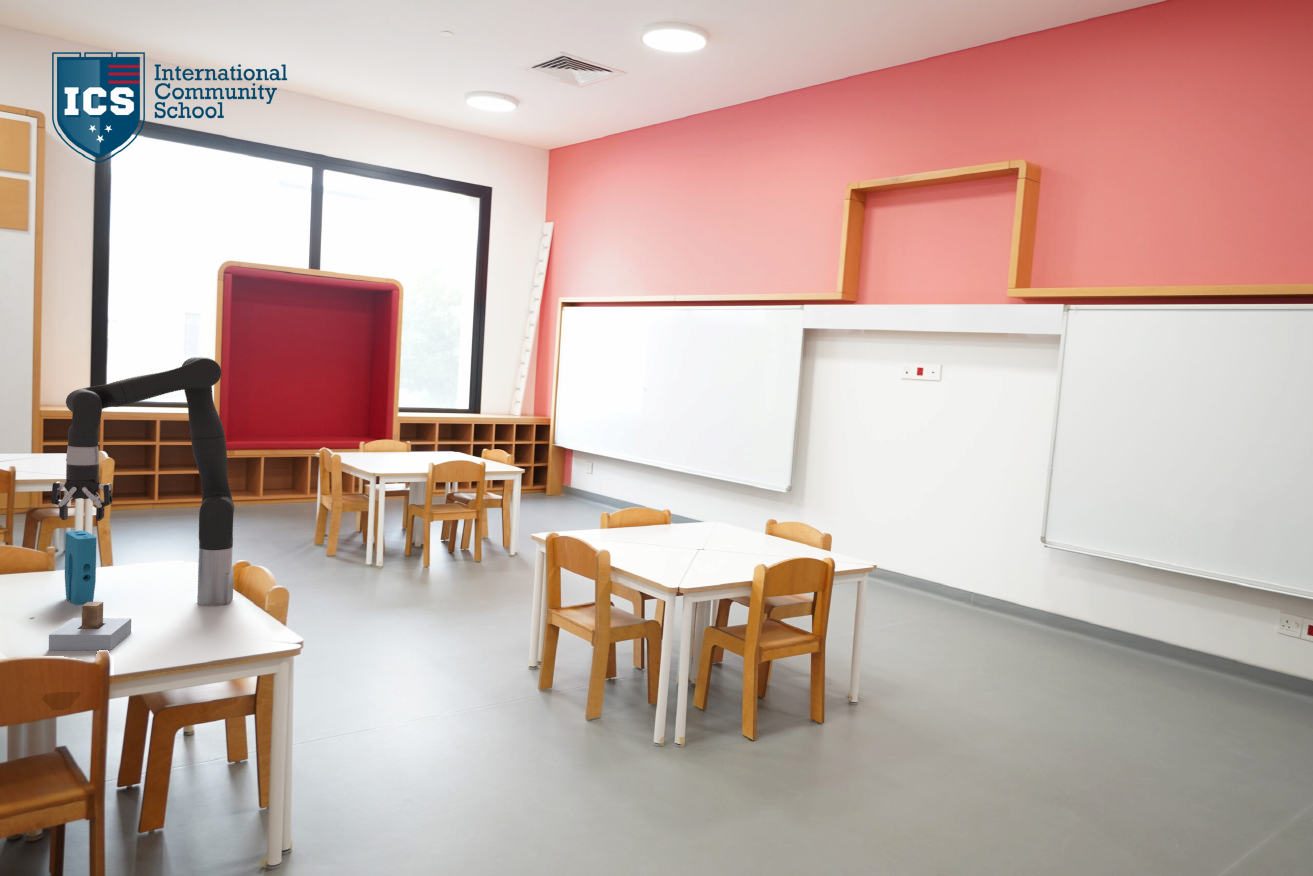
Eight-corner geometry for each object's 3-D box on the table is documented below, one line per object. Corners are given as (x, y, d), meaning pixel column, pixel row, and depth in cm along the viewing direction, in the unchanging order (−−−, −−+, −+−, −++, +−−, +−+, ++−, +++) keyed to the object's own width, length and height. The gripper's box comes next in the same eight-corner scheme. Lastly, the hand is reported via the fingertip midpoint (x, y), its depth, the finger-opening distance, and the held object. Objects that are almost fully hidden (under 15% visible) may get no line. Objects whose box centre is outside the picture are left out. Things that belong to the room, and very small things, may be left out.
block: (96, 604, 256) (97, 537, 255) (76, 606, 253) (77, 539, 251) (82, 594, 264) (83, 530, 262) (63, 597, 260) (64, 531, 259)
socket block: (131, 632, 235) (131, 618, 234) (110, 650, 221) (110, 634, 221) (73, 632, 231) (73, 617, 231) (48, 650, 218) (48, 634, 218)
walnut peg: (102, 639, 228) (103, 601, 228) (96, 643, 225) (97, 605, 224) (87, 638, 228) (88, 601, 227) (81, 643, 224) (82, 605, 223)
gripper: (116, 461, 244) (115, 518, 245) (59, 459, 241) (59, 516, 242) (106, 465, 237) (104, 523, 238) (47, 462, 234) (46, 521, 235)
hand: (81, 520), depth 240 cm, fingers open, 8 cm apart
